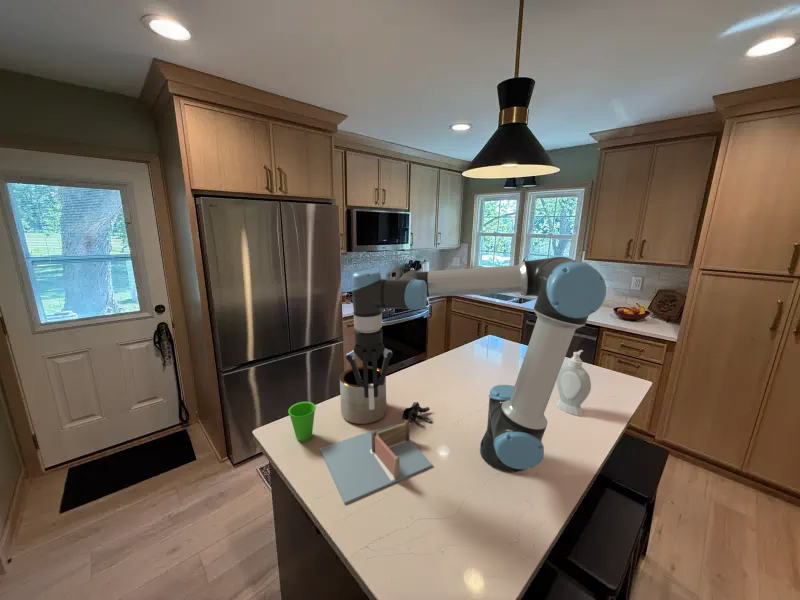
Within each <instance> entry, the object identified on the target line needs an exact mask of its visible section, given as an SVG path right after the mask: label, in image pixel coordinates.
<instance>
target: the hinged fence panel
mask: <svg viewBox="0 0 800 600" xmlns="http://www.w3.org/2000/svg"><path fill="white" fill-rule="evenodd" d="M375 453H376V455H377V456H378V457H379V458H380V460H381V461H382V462H383V463H384V464H385V466H386V467H387V468H388V469H389V471H390V472H391V473H392V474H393V476H394V478H395V479H399V456H396V455H395V454H394V453H393V452H392V451H391V450H390V449H389V448H388V446H387V445H386V444H385V443H384V442H383V441H382V440H381V439H380V437H379V436H378V435H377V436H375Z"/></svg>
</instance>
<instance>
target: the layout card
mask: <svg viewBox="0 0 800 600" xmlns="http://www.w3.org/2000/svg"><path fill="white" fill-rule="evenodd" d="M396 425H398V424H397V423H396V422H394V423H392V424H388V425H385V426H382V427H379V428H377V429H373V430H370V431H367V432H364V433H362V434H358V435H356V436H355V435H354V436H353V437H350V438H346V439H343V440H341V441H337V442H335V443H331V444H328V445H326V446H325V445H324V446H322V447H320V448H319V451H320V453H321V455H322V457H323V460H324V461H325V464H326V467H327V469H328V471H329V473H330V476H331V477H332V480H333V482H334V484H335V486H336V489H337V490H338V493H339V495H340V496H341V497H340V498H341V500H342V502H343V504H344V505H346V504H349V503H351V502H354V501H355V500H356V501H357V500H358V499H360V498H363V497H365V496H368V495H370V494H373V493H375V492H376V491H379V490H381V489H383V488H385V487H388V486H390V485H393V484H395V483H397V482H400V481H402V480H404V479H407V478H409V477H412V476H414V475H416V474H419V473H420V472H423V471H426V470H428V469H430V468H432V467H433V463H432V462H431V461H430V460H429V459H428V458H427V456H425V454H424V453H422V451H421V450H420V449H419V448H418V447H417V445H416V444H415V443H413V441H412V440H411V439H410V438H409V441H406V440H404V441H401V442H399V443H396V444H393V445H390V446H388V448H389V449H390V450H391V451H392V452H393V453H394V454H395V455H396V456H399V479H395V478H394V476H393V474H392V473H391V472H390V471H389V469H388V468H387V467H386V466H385V464H384V463H383V462H382V461H381V460H380V458H379V457H378V456H377V455H376V453H373V452H372V431H376V432H377V435H378V431H381V430H384V429H387V428H390V427H393V426H396Z"/></svg>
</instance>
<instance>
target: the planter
mask: <svg viewBox="0 0 800 600" xmlns="http://www.w3.org/2000/svg"><path fill="white" fill-rule="evenodd" d="M357 367H358V370H359V373H360V376H361V379H362V380H364V375H363V365H362V366H357ZM381 369H382V368H378V367H377V380H378V379H379V378H380V374H381ZM368 384H373V367H372V366H370V365H368ZM339 393H340V398H339V399H340V415H341V417H343V418H344V420H345V421H347V422H348V423H349V422H350V423H352V424H355V425H367V424H372V423H374V422H376V421H379V420H380V419H381V418H383V417H384V416H385V415H386V412H387V405H388V404H387V377H385V381H384V384H383V385H379V386H378V397H374V409H371V410H369V398H365V396H364V387H362V386H360V387H359V386H358V385H357V382H356V379H355V376H354V373H353V370H352V367H351V368H348V369H346V370H345V371H343V372H342V373H341V374H340V375H339Z"/></svg>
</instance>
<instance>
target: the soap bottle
mask: <svg viewBox="0 0 800 600" xmlns="http://www.w3.org/2000/svg"><path fill="white" fill-rule="evenodd" d="M583 352H584V350H583V349H580V350H578V351H573V356H571V357H570V358H569V359H568V363H565V364H562V367H561V369H560V372H559V375H558V377H557V380H556V385H557V391H558V395H559V399H558V400H557V402H556V407H557V408H559V409H560V410H561V411H563V412H565V413H567V414H570V415H573V416H577V417H582V416H583V414H584V413H583V409H582V406H581V405H582V404H583V403H584V402H585V401H586V399H587V398H588V396H589V395H590V393H591V389H592V383H591V382H592V381H591V378H590V375H589V373H588V371H586V369H584V367H582V366H583V360H582V359H581V358H580V355H581V353H583Z"/></svg>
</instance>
